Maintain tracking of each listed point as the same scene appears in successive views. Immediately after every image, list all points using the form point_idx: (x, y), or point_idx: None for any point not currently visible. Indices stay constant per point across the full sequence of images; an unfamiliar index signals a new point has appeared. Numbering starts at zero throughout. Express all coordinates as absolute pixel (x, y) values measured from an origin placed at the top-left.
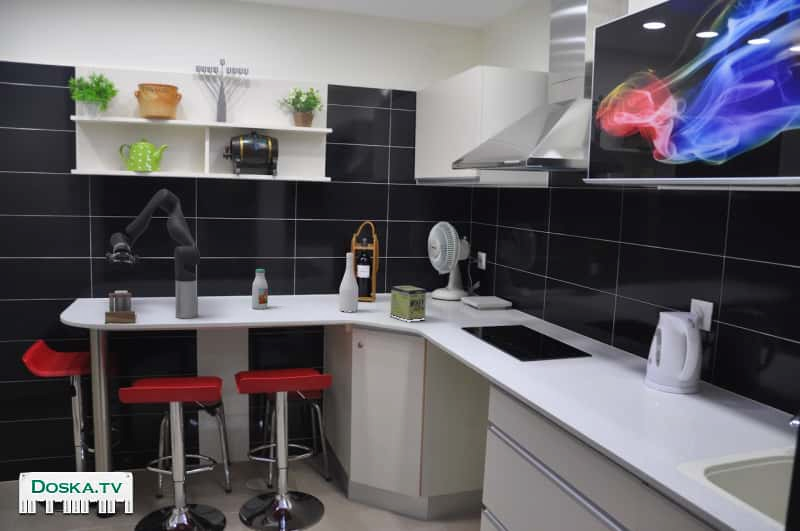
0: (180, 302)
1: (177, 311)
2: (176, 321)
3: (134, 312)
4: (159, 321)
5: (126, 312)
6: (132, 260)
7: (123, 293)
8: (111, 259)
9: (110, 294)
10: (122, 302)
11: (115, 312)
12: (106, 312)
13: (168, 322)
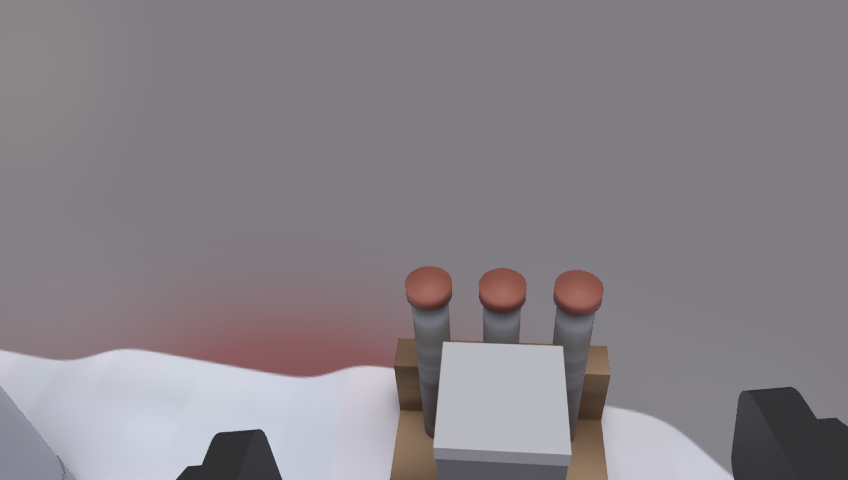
0: (9, 397)
1: (56, 466)
2: (142, 389)
3: (400, 340)
4: (242, 409)
5: (455, 341)
6: (228, 467)
7: (475, 349)
8: (845, 467)
9: (584, 273)
10: (483, 337)
11: (531, 343)
12: (596, 351)
13: (200, 371)
